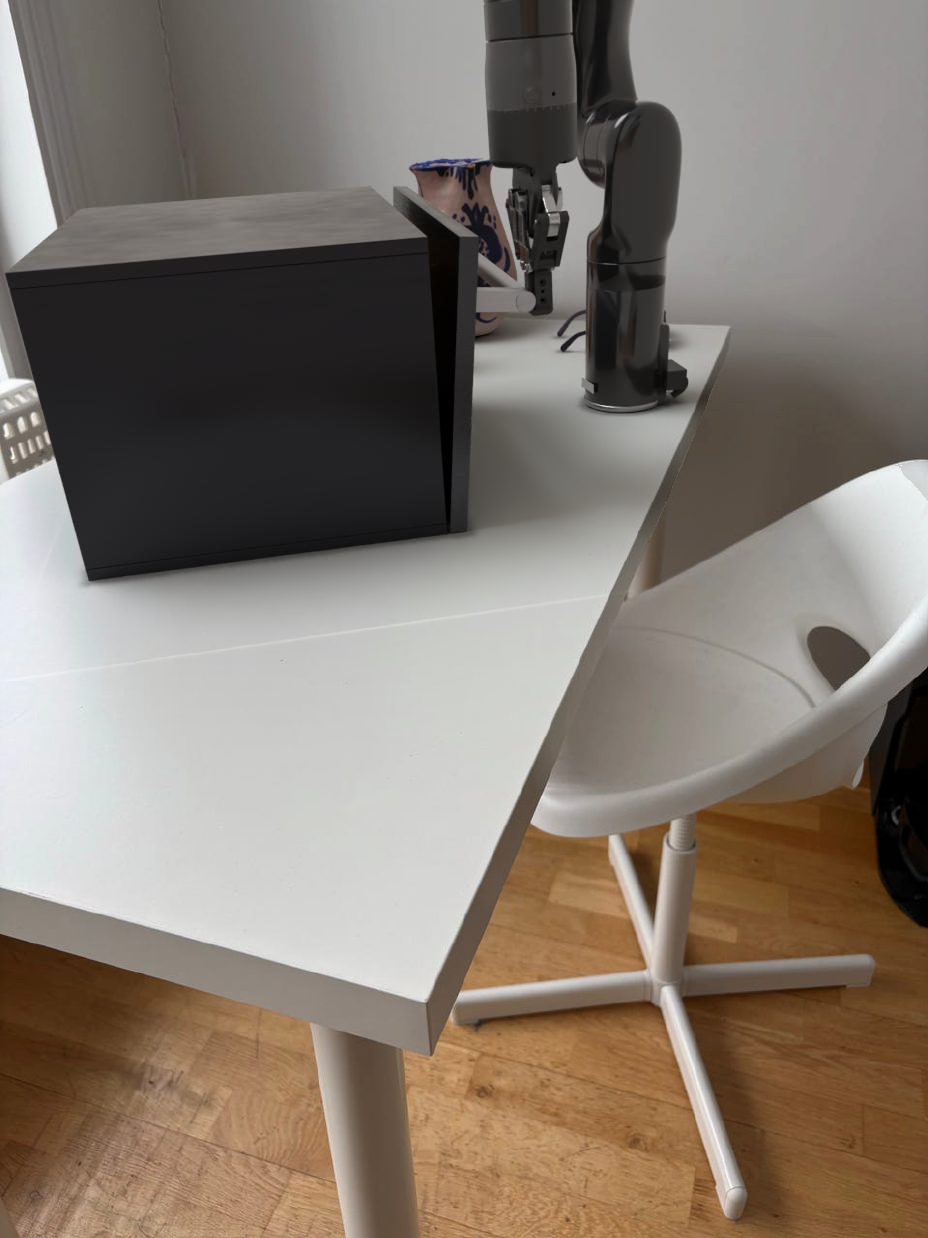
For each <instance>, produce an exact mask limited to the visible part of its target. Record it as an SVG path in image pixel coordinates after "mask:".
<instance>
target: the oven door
mask: <svg viewBox="0 0 928 1238" xmlns="http://www.w3.org/2000/svg"><path fill="white" fill-rule="evenodd" d="M392 196H393V197H392V206H393V207H394V208H396V209H397V210H398V211H399V212H400V213H401V214H402V215H403V216H405V217H406V218H407V219H408V220H409V221H410V222H411V223H412V224H414V225H415V226H416V227H417V228H418V229H419V230H420V231H421V232H423V233H424V234H425V235H426V236H427V237H428V248H429V252H428V253H429V263H430V278H431V294H432V309H433V324H434V339H435V355H436V370H437V385H438V400H439V416H440V431H441V446H442V462H443V477H444V492H445V507H446V524H447V530H449V531H448V532H449V533H450V534H453V533H455V534H456V533H467V532H468V518H469V517H468V515H469V495H470V494H469V493H470V490H469V489H470V468H471V465H470V464H471V443H472V442H471V441H472V421H473V420H472V419H473V395H474V373H475V372H474V371H475V349H476V348H475V347H476V336H475V326H476V312H509V313H529V311H531V310H532V309H533V308H534V306H535V304H536V299H535V296H534V295H533V294H532V293H531V292H530V291H529V290H527V289H526V288H525V286H524V285H522V284H521V283H520V282H518V280H517V281H515V280H514V279H513V278H511V277H510V276H509V275H508V274H506V273H505V272H504V271H502V270H501V269H500V268H498V267H497V266H496V265H494V264H493V263H492V262H491V261H489V260H488V259H487V258H485V257H484V256H483V255H481V254H480V253H479V236H477V235H476V234H474V233H473V232H471V231H470V230H469V229H467V228H466V227H464V226H463V225H461V224H460V223H458V222H457V221H456V220H454V219H453V218H451V217H450V216H448V215H447V214H446V213H444V212H443V211H441V210H440V209H438V208H437V207H435V206H434V205H433V204H431V203H430V202H428V201H427V200H425V199H424V198H422V197H421V196H420V195H418V192H415V191H414V190H412V188H410V187H408V186H404V185H400V186H399V185H398V186H397V185H394V186H392ZM478 275H479V276H480V277H481V278H482V279H484V280H485V281H486V282H487V283H488V284H489V285H491V286H492V287H477V278H478Z"/></svg>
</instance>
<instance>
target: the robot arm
mask: <svg viewBox="0 0 928 1238" xmlns="http://www.w3.org/2000/svg"><path fill="white" fill-rule="evenodd" d="M634 5H635V0H483V15H484V33H485V35H484V36H485V62H484V87H485V88H484V89H485V103H486V120H487V121H486V124H487V138H488V139H487V140H488V155H489V156H488V157H489V159H490V163H491V164H492V165H493V167H494V168H498V169H505V170H507V169H508V170H509V169H510V170H511V169H512V176H511V177H512V178H511V179H512V180H511V186H512V187H511V188H508V191H507V197H506V199H505V203H504V206H505V207H504V208H505V209H506V213H507V218H508V223H509V228H510V232H511V238H512V242H513V243H512V244H513V247H514V255H515V258H516V261H519V266H520V268H521V270H522V272H523V276H524V287H525V288H526V289H527V290H529V291H530V292H531V293H532V294H533V295H534V296H535V299H536V304H535V306H534V308H533V309H532V310H531V311H529V312H528V314H530V316H532V317H540V316H547V315H550V314H552V312H553V310H554V297H553V296H554V295H553V293H554V292H553V272H554V271H555V269H556V268H559V267H560V266H561V262H562V258H563V252H564V247H565V243H566V239H567V233H568V229H569V225H570V219H571V218H570V215H569V212H568V210H562V209H563V207H564V202H563V201H564V198H563V197H564V194H563V193H564V192H563V188H562V187H561V186H559V181H558V173H557V167H559V165H561V164H563V165H564V164H569V163H571V162H573V161H575V160H576V159H577V162H578V164H579V168H580V170H581V172H582V174H584V176H585V178H586V179H587V180H588V181H589V182H590V183H591V184H593V185H594V186H595V187H597V188H599V189H602V190H604V191H603V193H604V195H603V208H602V216H601V219H600V221H599V223H598V225H596V226H595V227H593V228H592V229H591V230H590V231H589V232H588V234H587V237H586V254H585V255H586V259H585V260H586V261H585V264H586V265H585V310H586V314H585V331H586V335H585V348H584V349H585V350H584V351H585V355H584V356H585V357H584V359H585V360H584V361H585V363H584V377H581V387H582V388H584V395H583V402H584V404H585V405H586V406H587V407H589V408H591V409H594V410H597V411H601V412H607V413H623V414H624V413H635V412H636V413H637V412H642V411H646V410H650V409H652V408H655V407H657V406H661V405H666V404H667V392H668V391H670V392H669V395H670V396H671V397H672V398H673V399H677V397H679V396H680V395H682V394H683V393H684V392H686V390H687V389H688V387H689V378H688V369H687V368H686V367H684V366H683V365H681V364H679V362H677V361H676V360H674V359H672V358H670V359H669V352H670V350H669V349H670V333H671V332H670V329H671V327H670V325H669V323H667V322H666V323H665V322H664V310H665V306H666V305H665V303H666V285H667V283H666V281H667V263H668V261H667V260H668V247H669V246H668V245H669V241H670V239H671V237H672V234H673V232H674V229H675V226H676V222H677V215H678V205H679V196H680V187H681V186H680V185H681V184H680V183H681V175H682V162H683V140H682V132H681V128H680V125H679V122H678V119H677V118H676V115H675V114H674V112H672V110H671V109H669V107H667V106H666V105H664V104H663V103H661V102H658V101H653V100H642V99H641V100H640V99H639V97H638V94H637V89H636V85H635V78H634V72H633V66H632V58H631V50H630V35H631V34H630V33H631V22H632V15H633V10H634Z"/></svg>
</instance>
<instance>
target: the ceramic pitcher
mask: <svg viewBox="0 0 928 1238" xmlns="http://www.w3.org/2000/svg"><path fill="white" fill-rule="evenodd" d="M493 167H494V166H493V165H492V164H491V163H490V158H482V157H481V158H480V157H479V158H453V159H449V158H443V157H441V158H437V159H433V160H426V161H421V162H415V163H413V164H411V165H409V166H408V169H409V171H410V172H411V173H412V174H413V175H414V177H415V179H416V182H417V194H418V195H420V196H421V197H422V198H424V199H425V200H427V201H428V202H430V203H431V204H433V205H434V206H435V207H437V208H438V209H440V210H441V211H443V212H444V213H446V214H447V215H448V216H450V217H451V218H453V219H454V220H456V221H457V222H458V223H460V224H461V225H463V226H464V227H466V228H467V229H469V230H470V231H471V232H473V233H474V234H476V235H477V236H479V253H480V254H481V255H483V256H484V257H485V258H487V259H488V260H489V261H491V262H492V263H493V264H494V265H496V266H497V267H498V268H500V269H501V270H502V271H504V272H505V273H506V274H508V275H509V276H510V277H511V278H513V279H514V280H515V281H517V282H518V271H517V266H516V262H515V258H514V254H513V250H512V247H511V244H510V241H509V239H508V236H507V231H506V230H505V227H504V225H503V222H502V218H501V215H500V211H499V210H498V209H499V208H498V207H497V203H496V201H495V196H494V194H493V189H492V183H491V175H492V174H491V173H492V169H493ZM477 287H492V286H491V285H489V284H488V283H487V282H486V281H485V280H484V279H482V278H481V277H480V276H479V275H478V278H477ZM509 314H510V312H476V326H475V337H478V336H479V337H480V336H484V335H487V334H490V333H492V332H493V331H495V330H496V329H497V328H498V327H499V326H501V324H503V322H504V321H505V320H506V318H507V317H508V315H509Z"/></svg>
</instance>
